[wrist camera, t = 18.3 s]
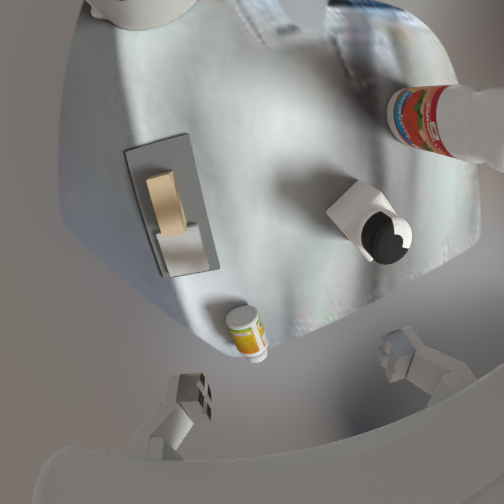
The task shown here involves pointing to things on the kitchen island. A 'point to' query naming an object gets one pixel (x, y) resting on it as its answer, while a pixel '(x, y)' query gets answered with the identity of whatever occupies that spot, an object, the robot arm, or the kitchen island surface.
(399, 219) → the medicine bottle
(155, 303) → the kitchen island surface
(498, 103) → the fruit juice
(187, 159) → the mat
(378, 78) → the kitchen island surface
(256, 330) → the supplement bottle
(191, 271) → the putty knife
